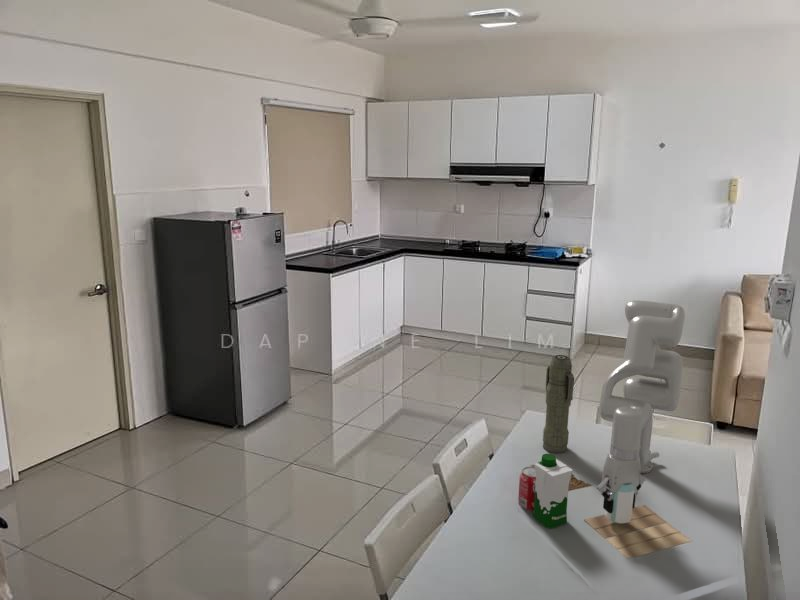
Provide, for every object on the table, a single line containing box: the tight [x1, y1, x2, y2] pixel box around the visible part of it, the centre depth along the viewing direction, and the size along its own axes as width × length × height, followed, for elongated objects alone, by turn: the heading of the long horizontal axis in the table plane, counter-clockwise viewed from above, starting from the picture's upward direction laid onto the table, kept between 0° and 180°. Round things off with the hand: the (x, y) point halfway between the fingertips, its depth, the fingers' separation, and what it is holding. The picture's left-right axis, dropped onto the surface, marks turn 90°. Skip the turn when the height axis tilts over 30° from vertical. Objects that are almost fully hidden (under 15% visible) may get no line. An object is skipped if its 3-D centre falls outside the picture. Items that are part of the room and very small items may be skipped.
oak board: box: [605, 522, 693, 560], centre depth 168 cm, size 22×9×1 cm, turn 111°
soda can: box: [517, 466, 536, 511], centre depth 183 cm, size 7×7×12 cm
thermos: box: [542, 354, 575, 454], centre depth 218 cm, size 9×12×35 cm
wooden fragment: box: [530, 464, 593, 492], centre depth 200 cm, size 26×11×1 cm, turn 34°
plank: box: [583, 504, 667, 539], centre depth 176 cm, size 22×9×1 cm, turn 111°
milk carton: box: [532, 453, 574, 530], centre depth 175 cm, size 9×9×20 cm
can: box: [604, 483, 634, 524], centre depth 173 cm, size 7×7×12 cm
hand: (618, 507), depth 174 cm, fingers closed on can, 7 cm apart
